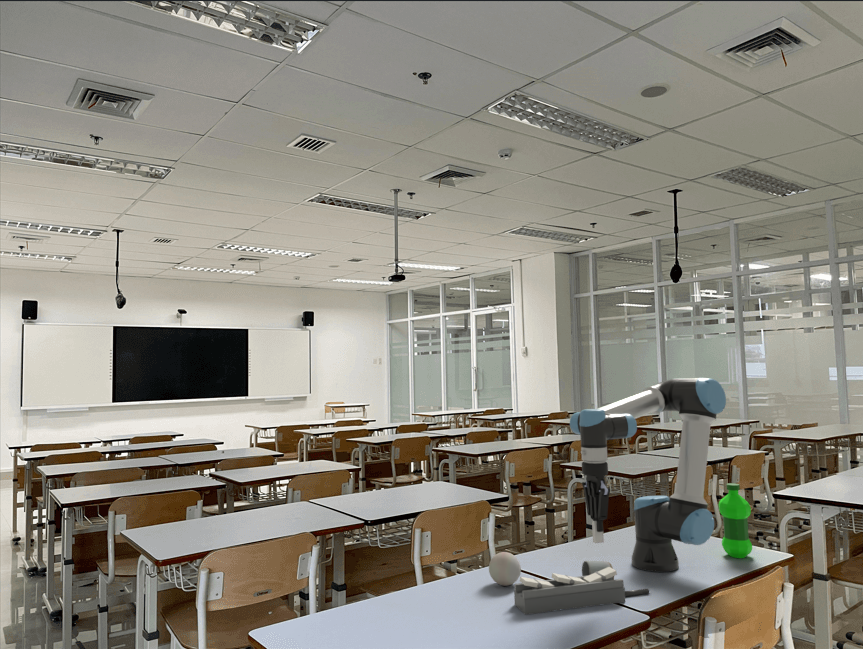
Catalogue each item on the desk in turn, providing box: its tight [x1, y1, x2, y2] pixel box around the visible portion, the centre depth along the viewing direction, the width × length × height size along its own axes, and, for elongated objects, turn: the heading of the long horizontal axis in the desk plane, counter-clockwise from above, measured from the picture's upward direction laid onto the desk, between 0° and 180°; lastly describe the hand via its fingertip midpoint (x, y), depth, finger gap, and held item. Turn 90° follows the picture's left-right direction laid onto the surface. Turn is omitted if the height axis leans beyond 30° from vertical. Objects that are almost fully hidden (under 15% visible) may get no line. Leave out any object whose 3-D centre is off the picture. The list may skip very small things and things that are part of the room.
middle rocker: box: [551, 572, 586, 585], centre depth 183 cm, size 9×4×1 cm, turn 104°
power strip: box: [513, 575, 650, 616], centre depth 184 cm, size 41×8×6 cm, turn 104°
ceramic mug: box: [581, 560, 615, 580], centre depth 199 cm, size 11×8×8 cm
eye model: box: [488, 551, 522, 587], centre depth 200 cm, size 10×10×10 cm
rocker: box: [583, 567, 618, 583], centre depth 185 cm, size 9×4×1 cm, turn 104°
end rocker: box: [519, 576, 554, 588], centre depth 181 cm, size 9×4×1 cm, turn 104°
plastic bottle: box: [717, 482, 753, 559], centre depth 224 cm, size 10×10×25 cm
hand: (598, 542), depth 186 cm, fingers closed
